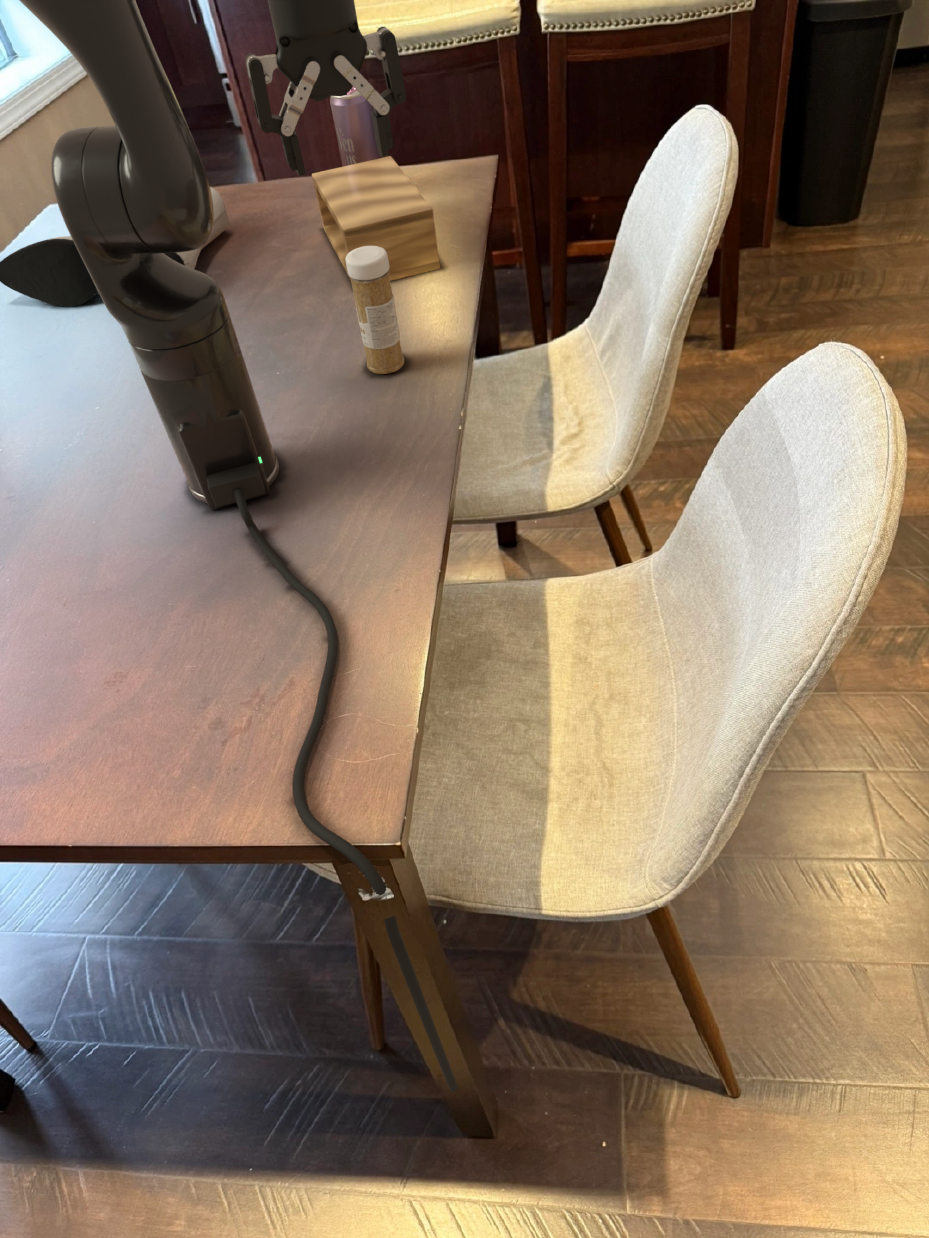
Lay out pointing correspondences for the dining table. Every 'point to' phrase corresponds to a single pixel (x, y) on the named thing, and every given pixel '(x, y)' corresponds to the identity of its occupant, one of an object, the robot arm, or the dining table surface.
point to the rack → (378, 215)
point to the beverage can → (354, 128)
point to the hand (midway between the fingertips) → (342, 164)
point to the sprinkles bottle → (375, 308)
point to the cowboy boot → (76, 266)
